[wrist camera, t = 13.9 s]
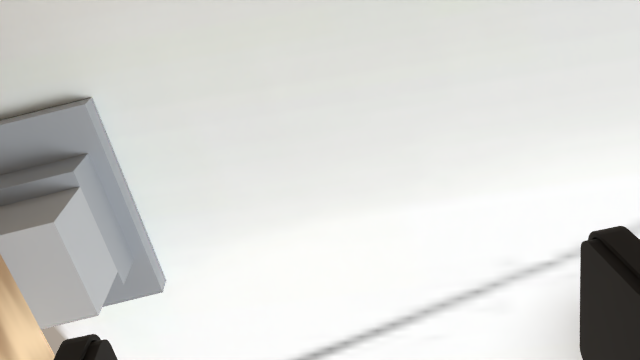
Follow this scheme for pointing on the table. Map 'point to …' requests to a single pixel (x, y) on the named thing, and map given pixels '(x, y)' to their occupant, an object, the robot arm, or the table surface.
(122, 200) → the fulcrum stand
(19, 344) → the tan long bar
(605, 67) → the table surface
